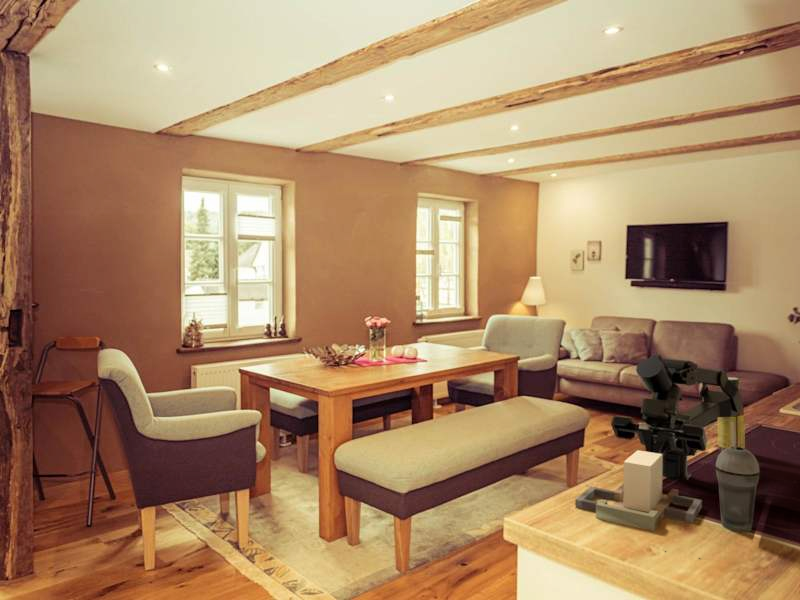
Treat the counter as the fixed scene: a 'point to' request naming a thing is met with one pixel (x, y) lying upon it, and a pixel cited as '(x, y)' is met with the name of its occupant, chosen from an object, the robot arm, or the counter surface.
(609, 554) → the counter surface
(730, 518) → the beverage cup
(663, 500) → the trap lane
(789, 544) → the counter surface
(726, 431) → the sauce bottle
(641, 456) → the cream block
